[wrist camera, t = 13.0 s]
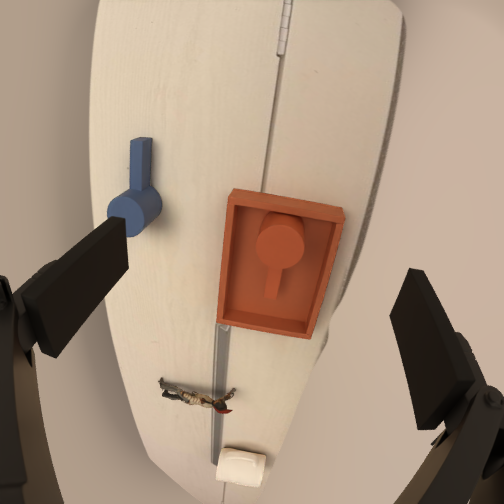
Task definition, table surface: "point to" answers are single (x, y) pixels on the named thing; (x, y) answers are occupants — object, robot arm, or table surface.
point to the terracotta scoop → (279, 247)
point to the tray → (255, 271)
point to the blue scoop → (137, 191)
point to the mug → (240, 467)
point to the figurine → (196, 398)
